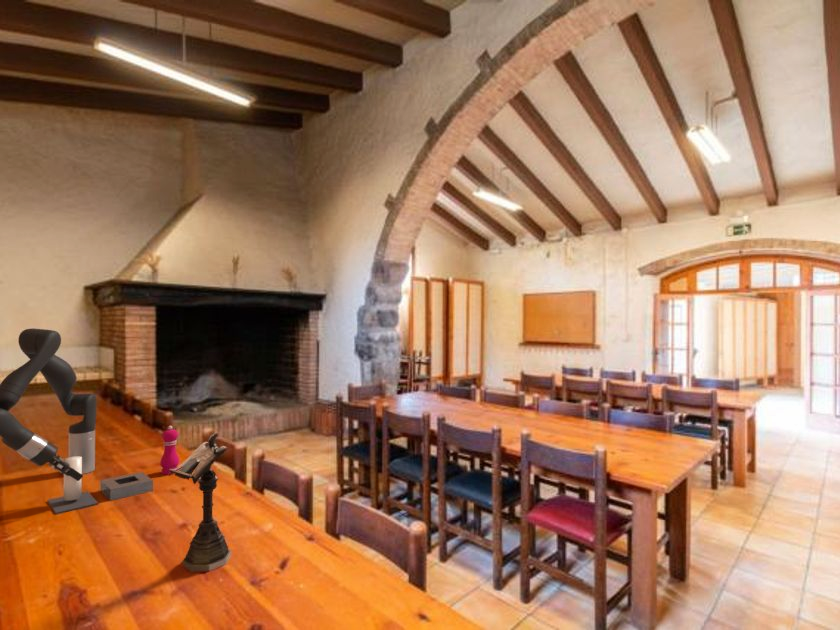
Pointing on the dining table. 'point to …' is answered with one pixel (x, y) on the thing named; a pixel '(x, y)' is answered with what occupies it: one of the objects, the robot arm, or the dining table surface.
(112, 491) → the block
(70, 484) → the plug
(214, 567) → the ornate lectern
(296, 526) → the dining table surface
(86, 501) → the mat
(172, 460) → the pepper mill
